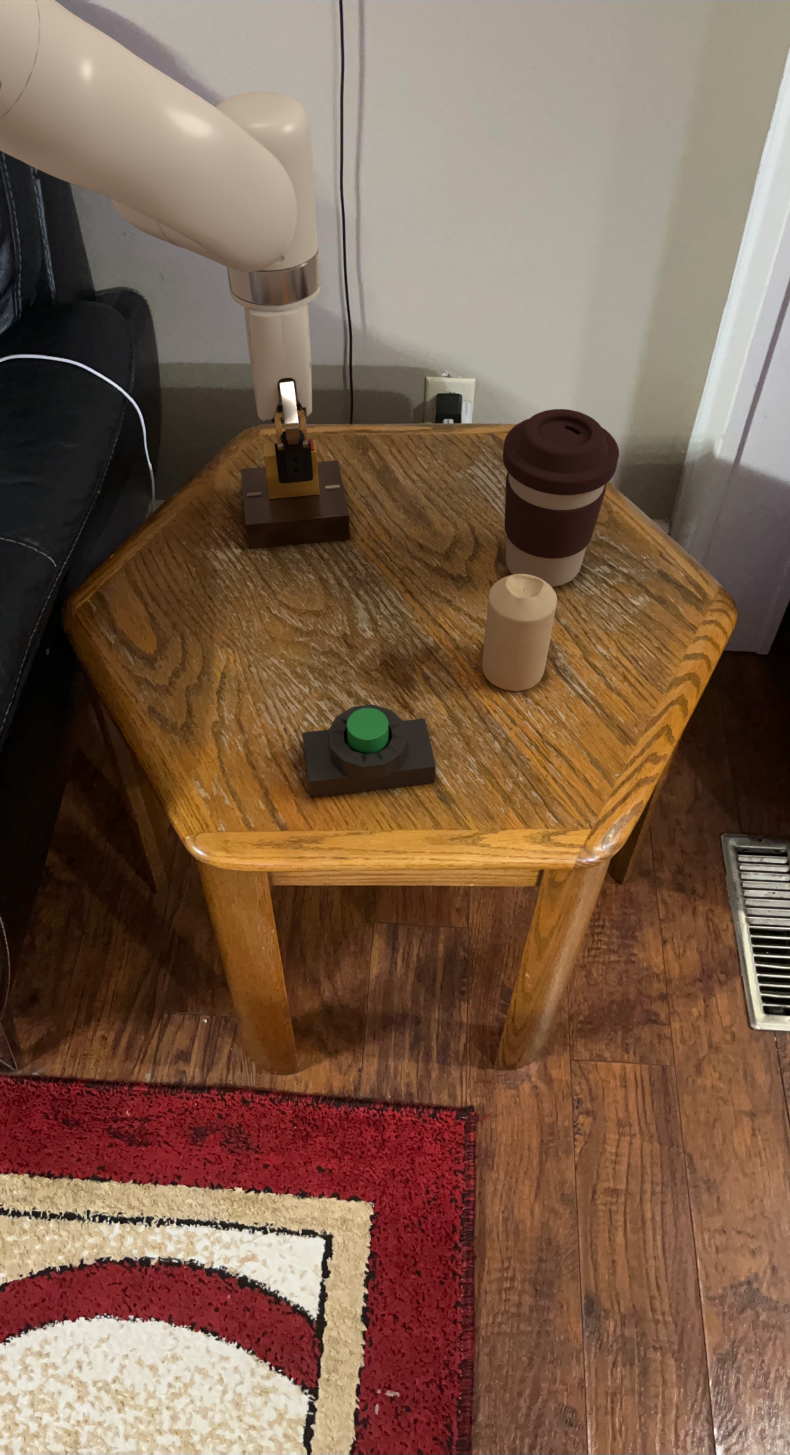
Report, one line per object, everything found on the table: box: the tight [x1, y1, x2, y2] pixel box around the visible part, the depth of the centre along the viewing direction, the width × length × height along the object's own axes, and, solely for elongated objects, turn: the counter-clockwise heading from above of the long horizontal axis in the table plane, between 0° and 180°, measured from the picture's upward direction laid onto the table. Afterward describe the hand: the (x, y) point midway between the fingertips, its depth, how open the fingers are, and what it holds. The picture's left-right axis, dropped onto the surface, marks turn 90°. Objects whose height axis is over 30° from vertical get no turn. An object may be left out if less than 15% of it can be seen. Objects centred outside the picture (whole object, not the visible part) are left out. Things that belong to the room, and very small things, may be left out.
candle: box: [481, 574, 558, 692], centre depth 82 cm, size 6×6×10 cm
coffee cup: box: [502, 408, 620, 588], centre depth 89 cm, size 10×10×15 cm
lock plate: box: [240, 459, 351, 550], centre depth 98 cm, size 10×9×3 cm
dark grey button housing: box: [302, 704, 437, 798], centre depth 78 cm, size 10×6×4 cm, turn 99°
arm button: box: [347, 708, 388, 754], centre depth 76 cm, size 3×3×2 cm
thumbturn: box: [262, 438, 319, 499], centre depth 95 cm, size 5×2×5 cm, turn 99°
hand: (291, 449), depth 93 cm, fingers open, 9 cm apart
